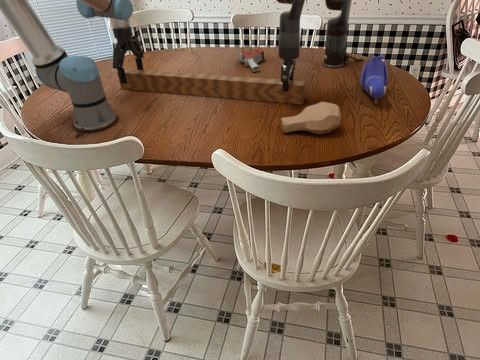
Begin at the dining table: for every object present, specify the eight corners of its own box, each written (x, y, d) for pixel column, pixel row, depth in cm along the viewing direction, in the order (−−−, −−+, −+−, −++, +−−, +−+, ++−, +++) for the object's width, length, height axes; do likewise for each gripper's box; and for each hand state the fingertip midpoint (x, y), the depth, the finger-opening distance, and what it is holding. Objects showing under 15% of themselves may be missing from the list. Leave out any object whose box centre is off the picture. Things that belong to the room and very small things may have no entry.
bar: (121, 88, 160) (116, 72, 155) (127, 84, 163) (122, 68, 159) (302, 104, 137) (303, 85, 132) (304, 99, 140) (305, 81, 136)
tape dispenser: (256, 76, 167) (275, 61, 180) (255, 65, 164) (276, 50, 176) (225, 69, 175) (246, 55, 187) (224, 59, 171) (245, 45, 184)
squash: (345, 135, 116) (346, 113, 109) (284, 145, 118) (282, 124, 111) (337, 115, 123) (337, 93, 117) (280, 125, 125) (277, 104, 119)
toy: (357, 95, 150) (363, 108, 128) (360, 53, 144) (367, 59, 122) (382, 94, 148) (392, 108, 126) (386, 52, 142) (398, 58, 119)
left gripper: (111, 34, 134) (124, 88, 146) (145, 20, 153) (154, 69, 165) (94, 34, 136) (108, 87, 148) (130, 20, 155) (140, 68, 167)
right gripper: (295, 50, 121) (293, 95, 130) (303, 38, 131) (301, 80, 141) (274, 49, 123) (273, 93, 132) (283, 37, 133) (282, 79, 143)
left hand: (133, 78), depth 157 cm, fingers open, 13 cm apart
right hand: (288, 86), depth 137 cm, fingers open, 8 cm apart
